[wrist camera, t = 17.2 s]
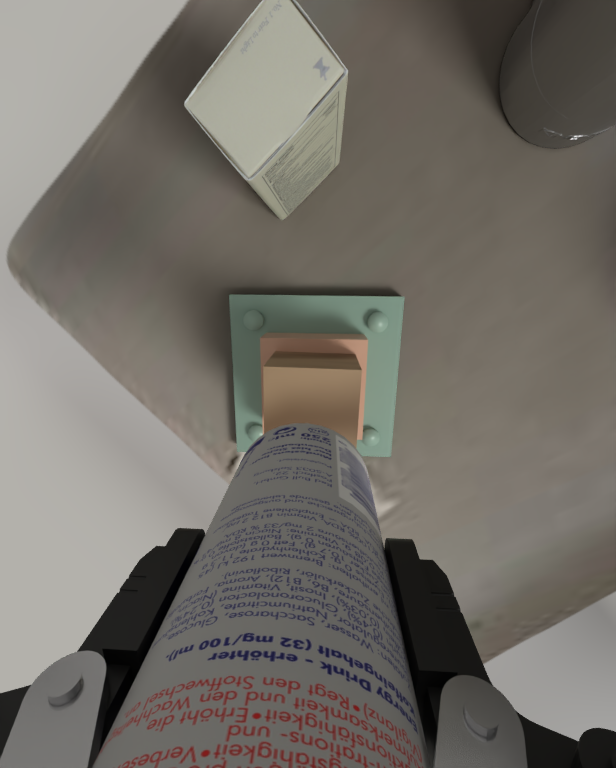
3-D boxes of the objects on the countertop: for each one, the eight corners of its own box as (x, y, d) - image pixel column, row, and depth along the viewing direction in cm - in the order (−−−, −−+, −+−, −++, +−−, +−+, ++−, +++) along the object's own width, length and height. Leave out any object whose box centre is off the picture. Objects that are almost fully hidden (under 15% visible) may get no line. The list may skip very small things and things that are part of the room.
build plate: (233, 294, 29) (217, 295, 25) (401, 296, 28) (413, 298, 24) (240, 445, 33) (228, 468, 29) (388, 450, 32) (397, 474, 28)
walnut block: (275, 351, 26) (263, 366, 21) (355, 354, 26) (361, 370, 21) (275, 425, 28) (264, 455, 23) (350, 428, 27) (355, 459, 22)
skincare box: (302, 114, 25) (281, -33, 14) (342, 165, 26) (355, 67, 14) (242, 180, 27) (176, 99, 15) (282, 226, 27) (248, 183, 16)
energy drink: (252, 536, 15) (32, 1276, 4) (229, 426, 14) (-224, 1085, 2) (372, 527, 15) (524, 1340, 3) (362, 412, 14) (560, 1144, 2)
